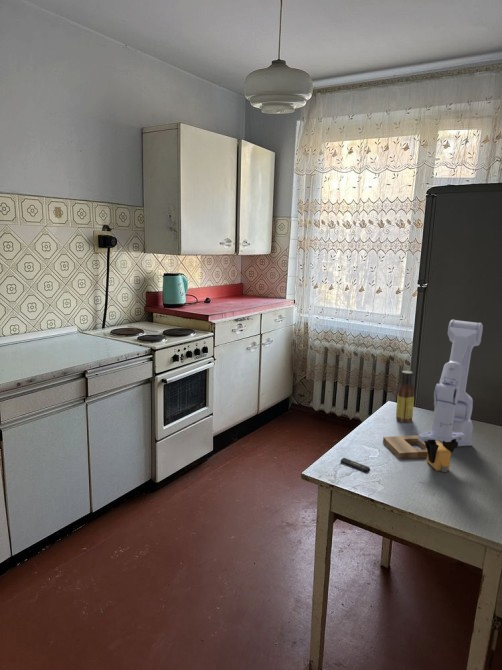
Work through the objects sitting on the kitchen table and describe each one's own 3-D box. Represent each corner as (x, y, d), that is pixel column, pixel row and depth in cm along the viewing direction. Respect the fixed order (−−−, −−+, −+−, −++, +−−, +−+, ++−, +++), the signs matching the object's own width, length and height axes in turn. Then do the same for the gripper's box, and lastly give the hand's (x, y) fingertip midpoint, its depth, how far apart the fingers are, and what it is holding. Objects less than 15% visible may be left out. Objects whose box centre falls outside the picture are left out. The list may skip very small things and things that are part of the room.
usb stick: (339, 463, 146) (339, 459, 145) (343, 460, 148) (344, 456, 147) (366, 474, 140) (366, 469, 139) (370, 471, 141) (370, 466, 141)
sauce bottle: (412, 418, 183) (417, 370, 178) (412, 424, 177) (417, 375, 173) (395, 415, 185) (400, 368, 180) (394, 421, 179) (399, 372, 175)
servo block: (435, 458, 150) (437, 441, 148) (451, 472, 141) (454, 454, 140) (424, 458, 149) (426, 441, 148) (439, 473, 140) (441, 455, 139)
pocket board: (430, 440, 164) (430, 434, 163) (449, 455, 152) (450, 450, 152) (382, 442, 161) (383, 436, 160) (398, 458, 149) (399, 453, 149)
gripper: (428, 427, 137) (423, 468, 140) (472, 425, 139) (466, 466, 142) (416, 418, 143) (411, 457, 146) (458, 416, 146) (453, 455, 149)
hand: (438, 461), depth 145 cm, fingers closed on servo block, 4 cm apart
